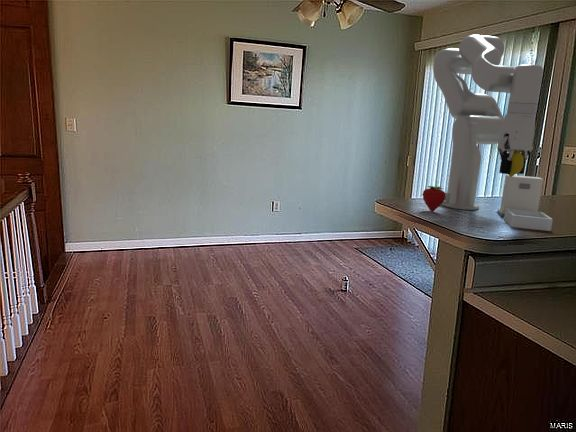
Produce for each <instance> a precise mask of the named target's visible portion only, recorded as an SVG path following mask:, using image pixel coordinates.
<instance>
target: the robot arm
mask: <svg viewBox="0 0 576 432" xmlns="http://www.w3.org/2000/svg"><path fill="white" fill-rule="evenodd" d="M504 53H505V43H504V41H503V40H502V39H501V38H500V37H498V36H495V35H494V36H492V35H484V34H481V35H480V34H471V35H467V36H466V37H464V38H462V40H461V41H460V42H459V45H458V48H455V47H454V48H453V47H450V48H444V49H441V50H439V51H437V53H436V54H435V56H434V58H433V61H432V62H433V63H432V71H433V76H434V79H435V82H436V84H437V86H438V87H439V89H440V91H441V92H442V95H443V97H444V101H445V103H446V106H447V109H448V111H449V113H450V115H451V117H452V118H453V119H455V120H454V122H453V124H452V131H451V132H452V152H451V159H450V160H451V162H450V168H449V175H448V184H447V191H446V190H445V191H444V192H445V195H446V197H445V199H444V202H443V203H442V204H441V205H440V206H443V207H446V208H449V209H450V208H451V209H456V210H465V211H467V210H468V211H476V210H478V209H479V207H480V205H479V204H478V203H476V198H477V197H476V196H477V189H478V183H479V175H480V170H481V163H482V155H481V152H480V150H479V147H478V145H497V147H496V148H497V150H498V154H499V156H500V165H499V171H498V172H499V174H502V175H508V174H510V172H511V166H512V161H511V158H512V155H513V153H514V150H517V151H518V152H520V153H521V154H522V155H523V158H524V165H523V168H522V170H521V171H520V172H519V173H518V174H519V175H524V174H525V168H526V163H527V160H528V158H529V156H530V154H531V152H532V151H534V146H533V144H534V137H535V131H536V130H535V129H536V116H537V111H538V106H539V105H538V103H539V100H540V94H541V88H542V81H543V76H544V67H543V66H541V65H539V64H519V65H517V66H513V65H512V66H511V65H501V61H502V57H503V56H504ZM458 74H460V75H462V74H463V75H471V77H472V81H473V82H474V83H475V84H476V85H477V86H478V87H479V88H480V89H482V90H484V91H486V92H491V93H506V94H509V96H508V97H509V98H508V104H507V110H506V114H505V115H504V116H503V114H502V112H501V109H500V107H499V105H498V102H497V100H496V99H495V98H494V97H493V96H491V95H490V94H486V93H478V92H477V93H475V92H472V91H471V90H470V88H469V86H468V84H467V83H466V81H465V79H464V78H462V77H461V76H460V75H458ZM508 152H509V154H508Z"/></svg>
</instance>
